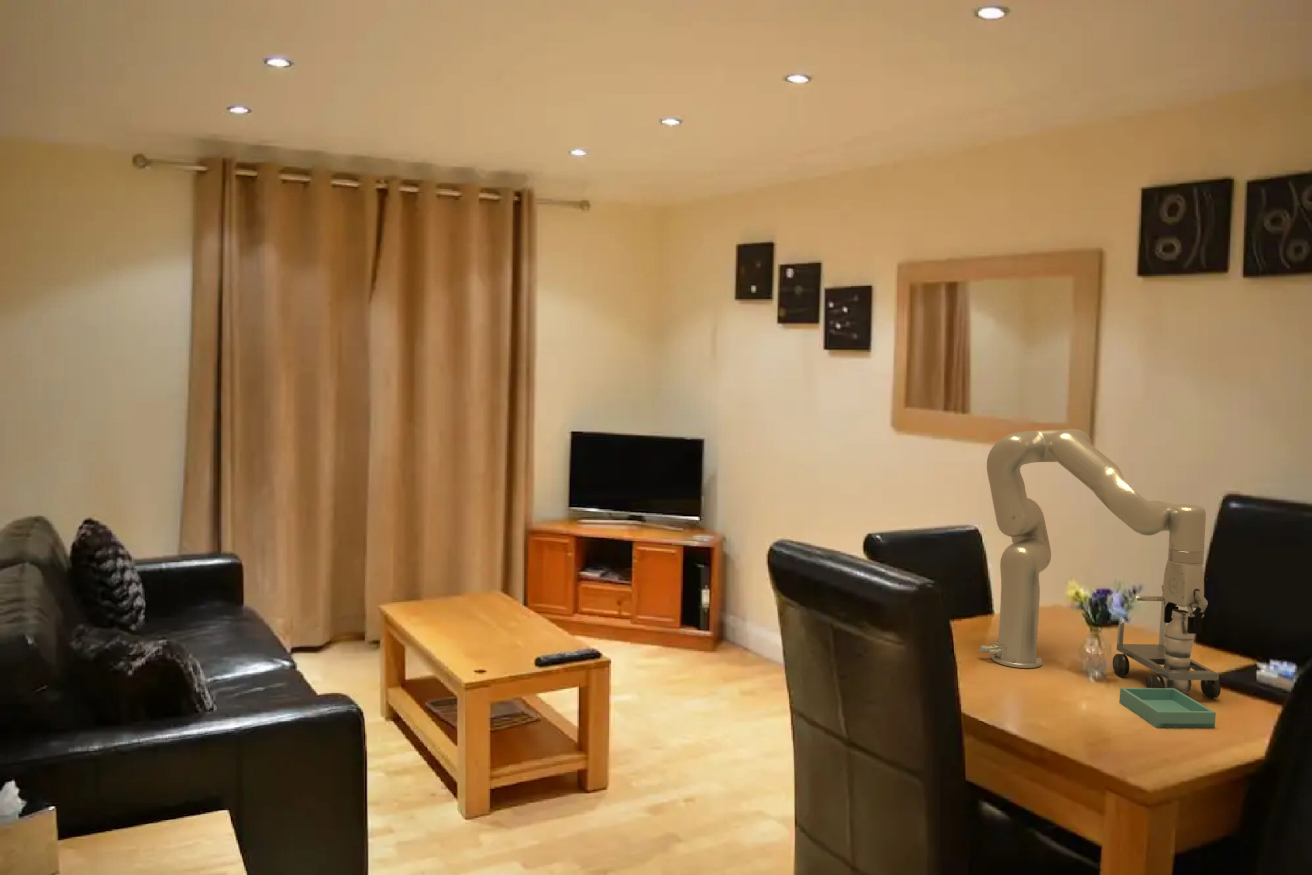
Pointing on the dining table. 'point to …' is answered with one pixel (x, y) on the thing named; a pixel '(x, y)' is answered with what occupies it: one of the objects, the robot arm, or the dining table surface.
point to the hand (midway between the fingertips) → (1182, 627)
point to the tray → (1167, 708)
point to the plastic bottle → (1178, 649)
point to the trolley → (1161, 660)
